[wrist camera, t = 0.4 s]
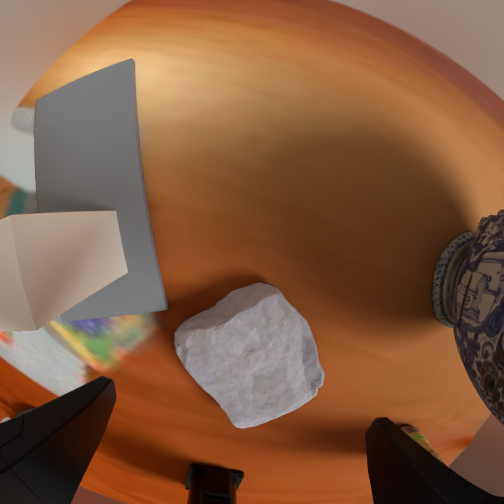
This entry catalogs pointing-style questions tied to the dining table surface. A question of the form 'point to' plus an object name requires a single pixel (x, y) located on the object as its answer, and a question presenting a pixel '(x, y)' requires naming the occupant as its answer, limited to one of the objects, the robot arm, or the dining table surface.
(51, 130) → the mat
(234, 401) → the stone block
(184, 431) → the dining table surface
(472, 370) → the decorative vase
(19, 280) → the tall block
